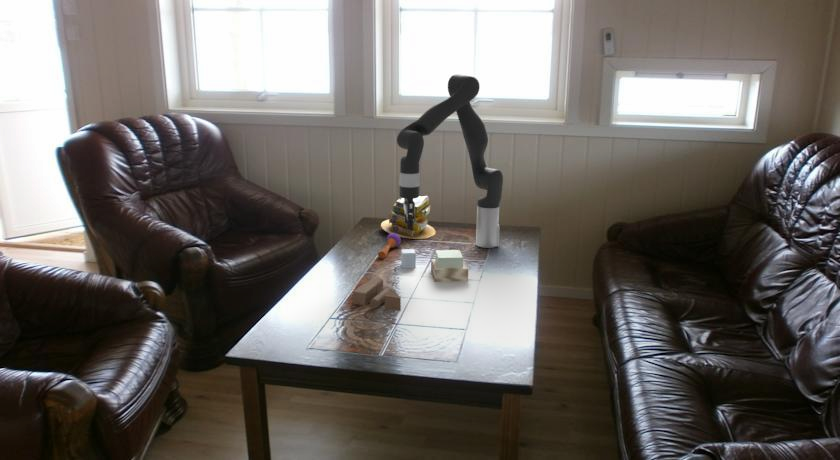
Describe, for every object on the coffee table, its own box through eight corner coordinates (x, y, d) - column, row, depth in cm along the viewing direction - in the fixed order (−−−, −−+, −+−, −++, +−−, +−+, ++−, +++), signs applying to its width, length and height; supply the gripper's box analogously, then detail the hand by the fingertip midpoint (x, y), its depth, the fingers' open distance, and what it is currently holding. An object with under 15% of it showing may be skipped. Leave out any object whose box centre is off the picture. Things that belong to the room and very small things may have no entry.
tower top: (459, 260, 247) (459, 250, 246) (462, 268, 238) (463, 257, 237) (435, 260, 246) (435, 250, 245) (438, 268, 237) (438, 257, 236)
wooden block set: (351, 289, 214) (374, 272, 230) (351, 305, 216) (374, 287, 232) (399, 296, 208) (419, 278, 225) (399, 313, 210) (419, 294, 226)
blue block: (414, 263, 256) (414, 249, 255) (415, 268, 251) (415, 253, 250) (401, 264, 256) (401, 249, 254) (402, 268, 251) (402, 253, 249)
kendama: (373, 248, 261) (387, 231, 279) (376, 262, 263) (390, 244, 281) (387, 247, 260) (400, 230, 278) (390, 261, 261) (403, 243, 280)
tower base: (462, 271, 250) (462, 258, 249) (467, 282, 239) (468, 269, 237) (430, 271, 249) (431, 259, 247) (435, 282, 237) (435, 269, 236)
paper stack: (445, 231, 302) (446, 195, 297) (414, 243, 282) (415, 205, 278) (402, 222, 315) (403, 188, 311) (369, 233, 296) (369, 197, 291)
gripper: (421, 188, 238) (420, 231, 243) (417, 180, 252) (416, 221, 256) (401, 188, 238) (400, 231, 242) (397, 180, 251) (397, 221, 256)
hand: (408, 226), depth 249 cm, fingers open, 8 cm apart
